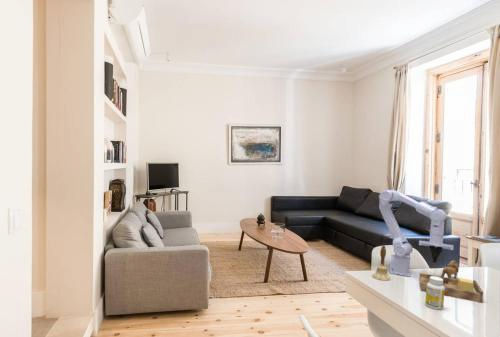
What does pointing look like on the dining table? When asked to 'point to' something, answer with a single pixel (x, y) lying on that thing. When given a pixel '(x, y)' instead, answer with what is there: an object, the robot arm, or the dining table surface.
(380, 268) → the hand bell
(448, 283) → the walnut lane
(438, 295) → the supplement bottle
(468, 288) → the ochre block
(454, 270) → the lion figurine
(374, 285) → the dining table surface
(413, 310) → the dining table surface
